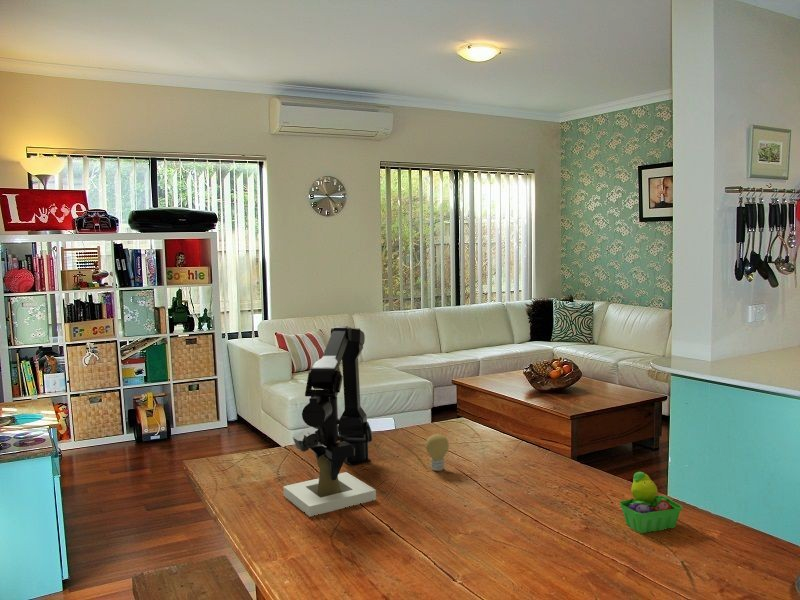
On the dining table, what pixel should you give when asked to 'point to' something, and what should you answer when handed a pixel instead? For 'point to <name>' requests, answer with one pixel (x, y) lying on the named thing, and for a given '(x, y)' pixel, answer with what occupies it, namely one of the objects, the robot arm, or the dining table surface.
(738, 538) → the dining table surface
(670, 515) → the fruit basket
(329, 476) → the olive green peg
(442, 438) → the light bulb
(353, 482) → the socket board
